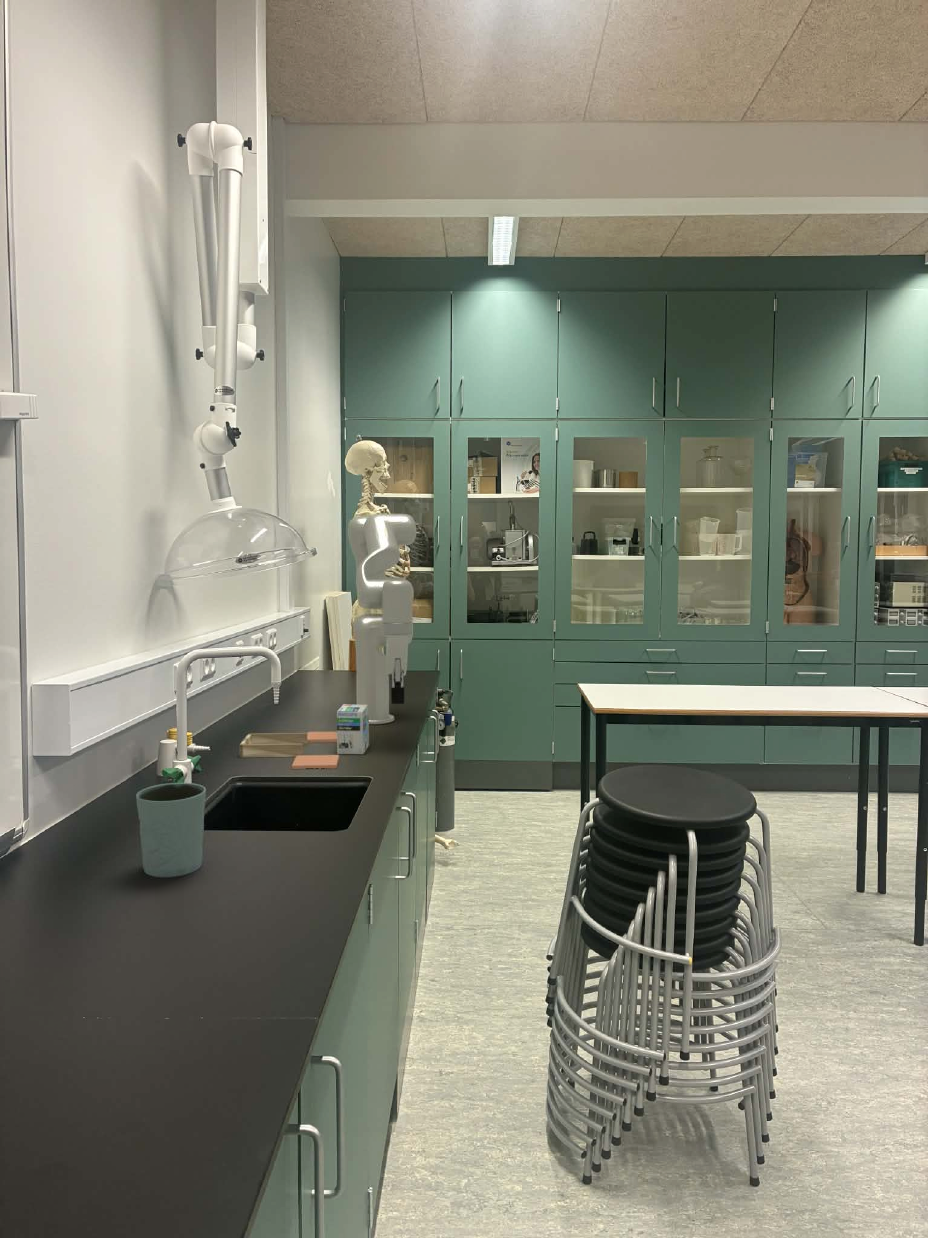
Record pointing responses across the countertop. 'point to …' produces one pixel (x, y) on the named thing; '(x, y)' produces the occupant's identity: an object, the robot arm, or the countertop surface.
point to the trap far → (321, 737)
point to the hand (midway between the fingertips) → (397, 703)
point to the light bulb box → (352, 729)
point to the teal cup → (171, 828)
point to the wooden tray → (272, 745)
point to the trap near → (315, 761)
